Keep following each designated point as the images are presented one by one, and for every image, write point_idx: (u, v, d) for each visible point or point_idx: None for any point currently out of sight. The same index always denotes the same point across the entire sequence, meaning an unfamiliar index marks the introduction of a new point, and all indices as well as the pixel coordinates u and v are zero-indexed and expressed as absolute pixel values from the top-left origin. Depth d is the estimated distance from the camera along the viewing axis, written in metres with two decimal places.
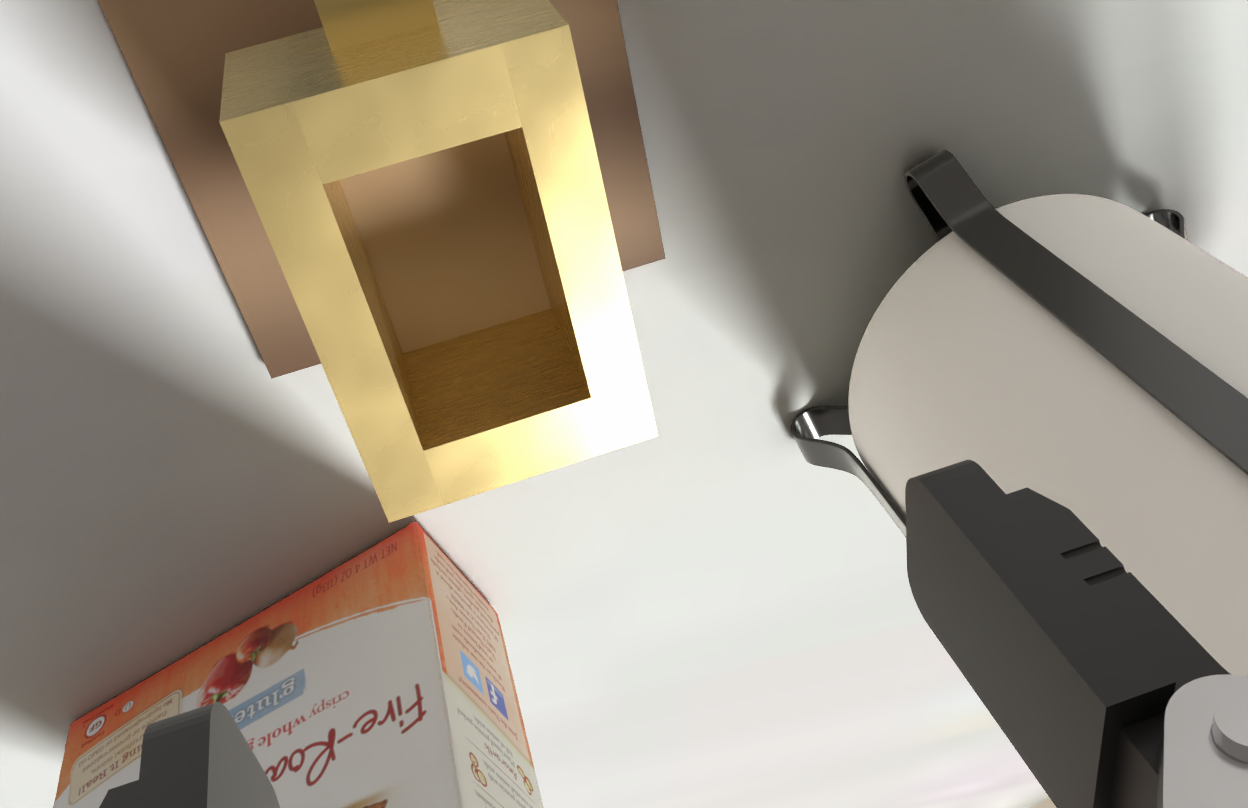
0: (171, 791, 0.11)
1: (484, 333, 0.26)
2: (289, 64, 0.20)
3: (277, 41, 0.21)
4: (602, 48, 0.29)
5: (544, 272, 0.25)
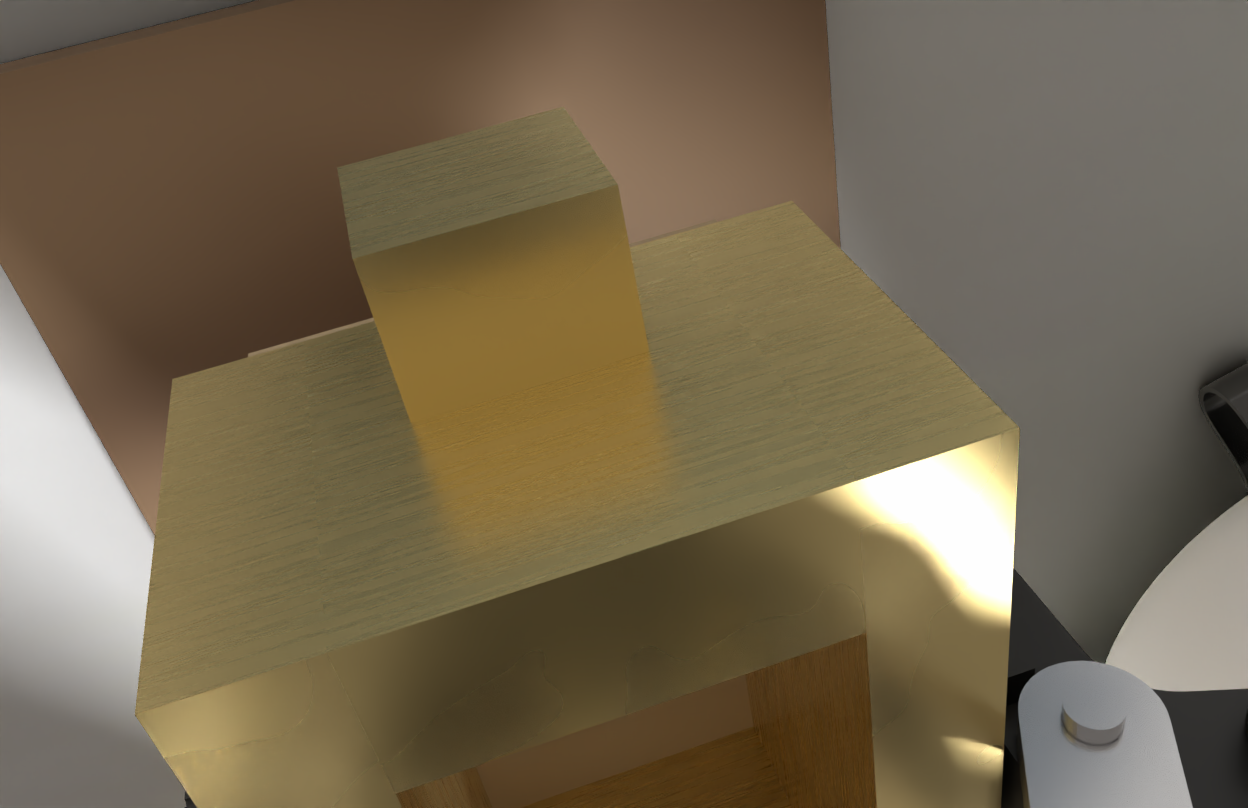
0: None
1: (640, 781, 0.15)
2: (312, 454, 0.09)
3: (283, 355, 0.10)
4: None
5: (765, 705, 0.14)
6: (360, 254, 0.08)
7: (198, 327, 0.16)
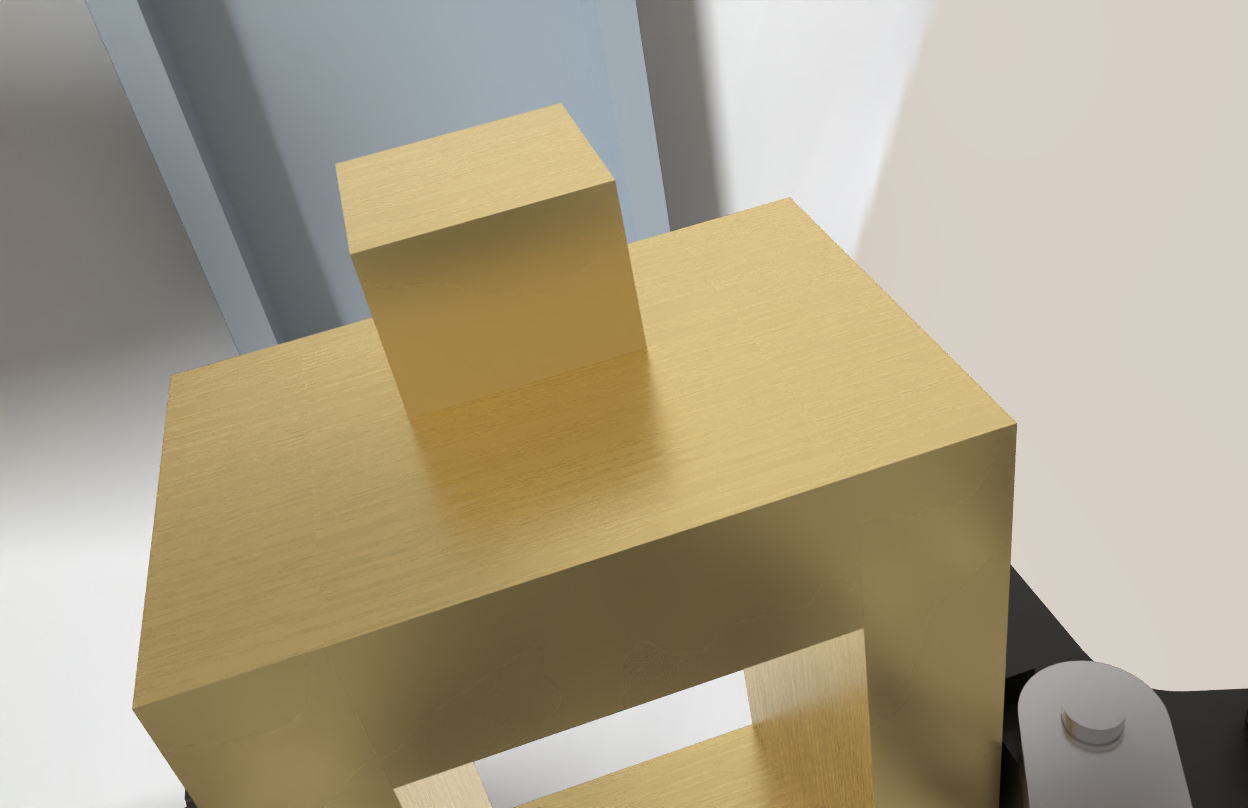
0: None
1: (640, 779, 0.15)
2: (310, 450, 0.09)
3: (282, 351, 0.10)
4: None
5: (764, 702, 0.14)
6: (358, 250, 0.08)
7: None
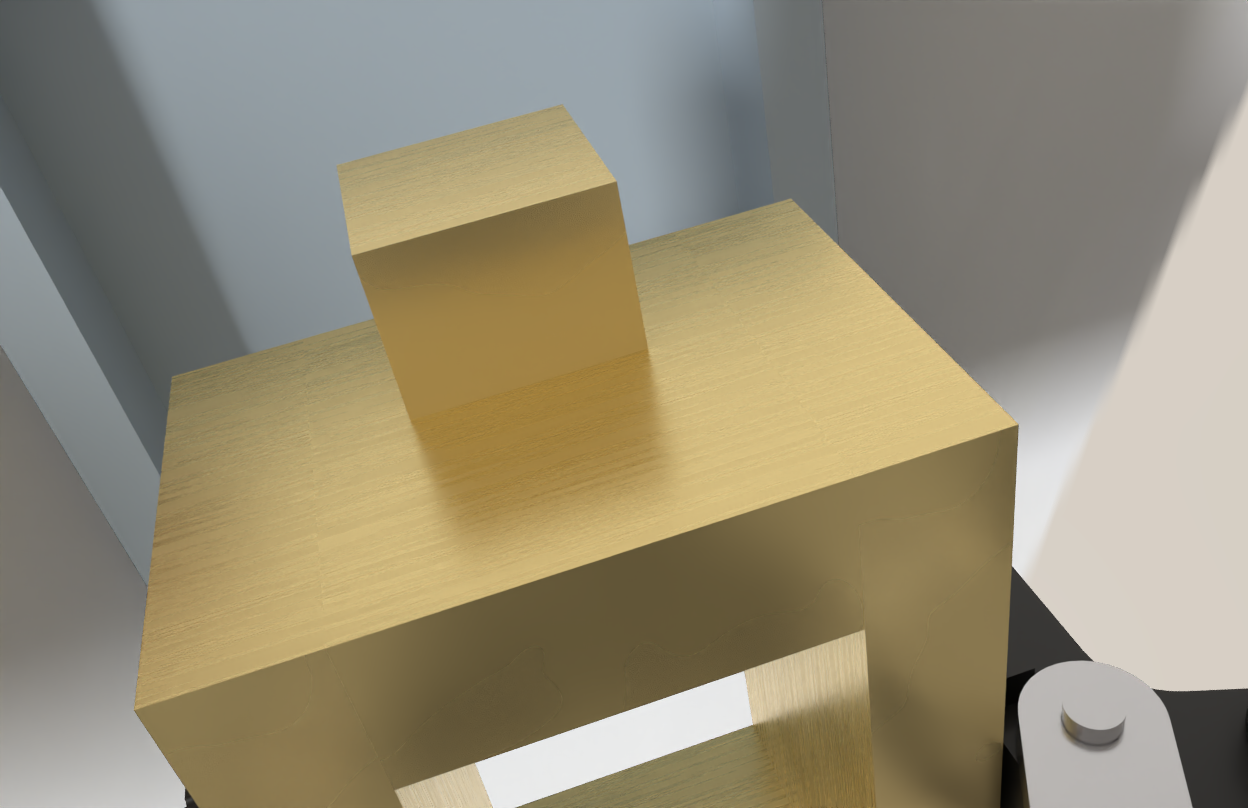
0: None
1: (640, 780, 0.15)
2: (313, 450, 0.09)
3: (283, 352, 0.10)
4: None
5: (765, 703, 0.14)
6: (359, 251, 0.08)
7: None
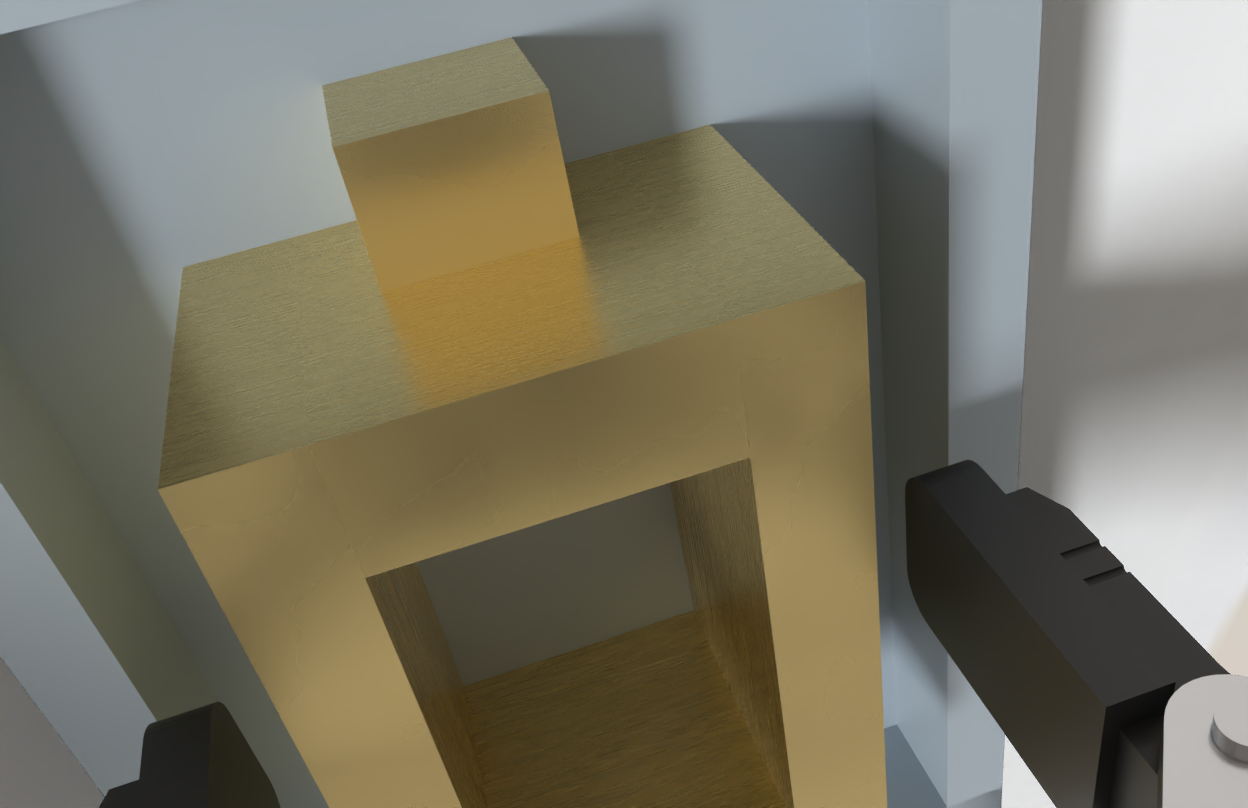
0: (172, 791, 0.11)
1: (592, 655, 0.17)
2: (300, 317, 0.11)
3: (276, 247, 0.12)
4: None
5: (699, 581, 0.15)
6: (338, 144, 0.10)
7: None
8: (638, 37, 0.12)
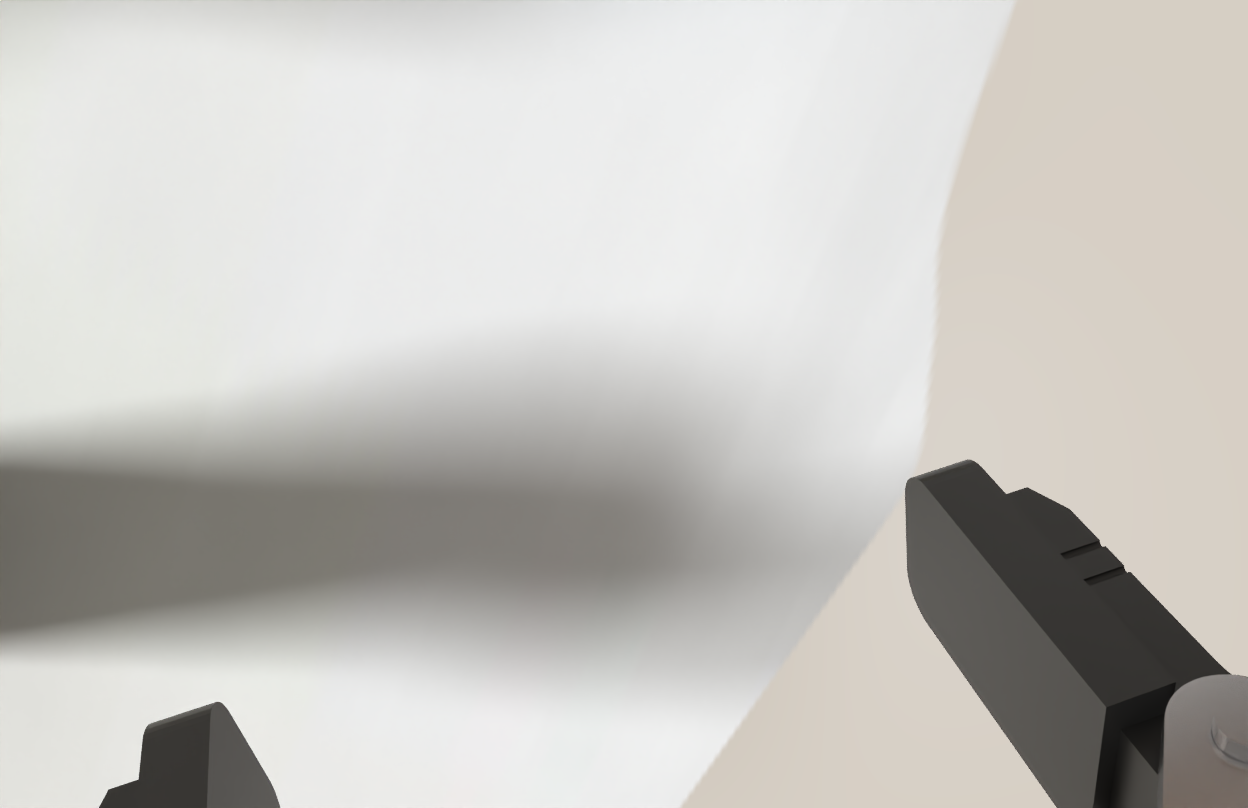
0: (171, 791, 0.11)
1: None
2: None
3: None
4: None
5: None
6: None
7: None
8: None
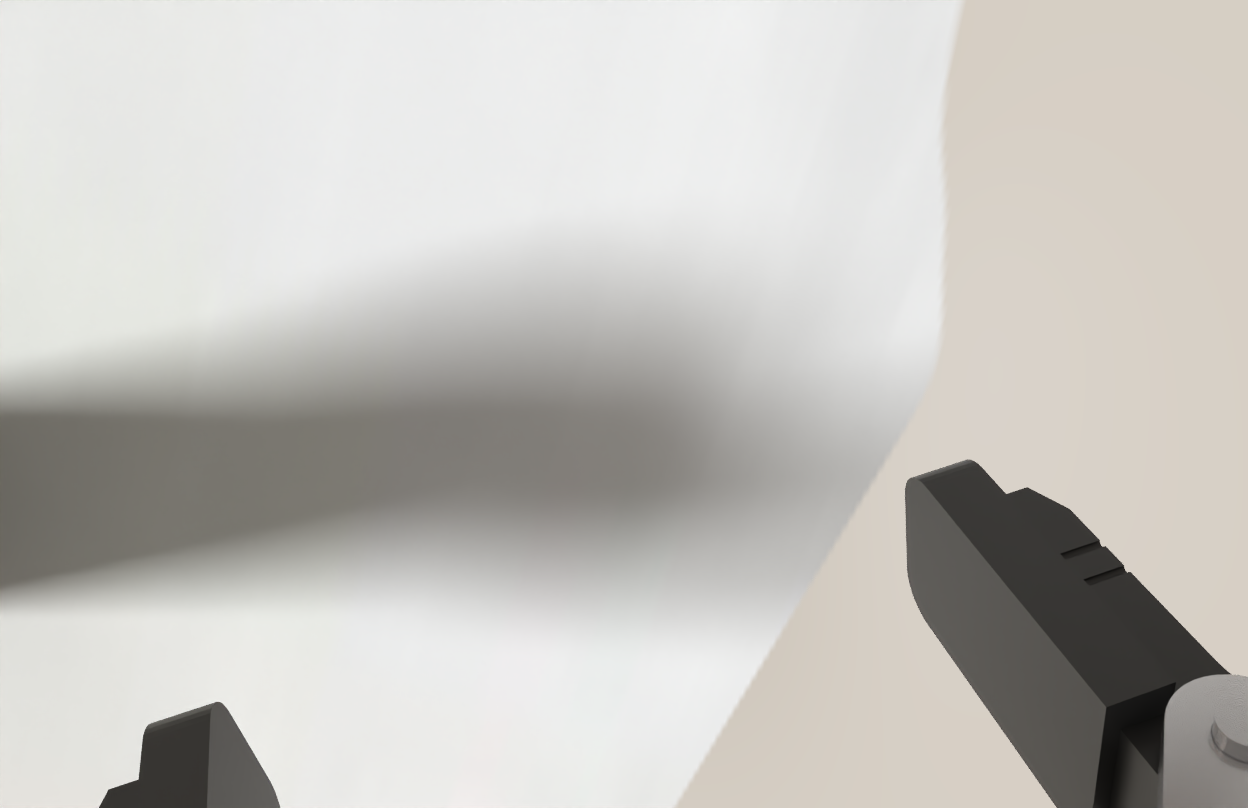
0: (171, 791, 0.11)
1: None
2: None
3: None
4: None
5: None
6: None
7: None
8: None
